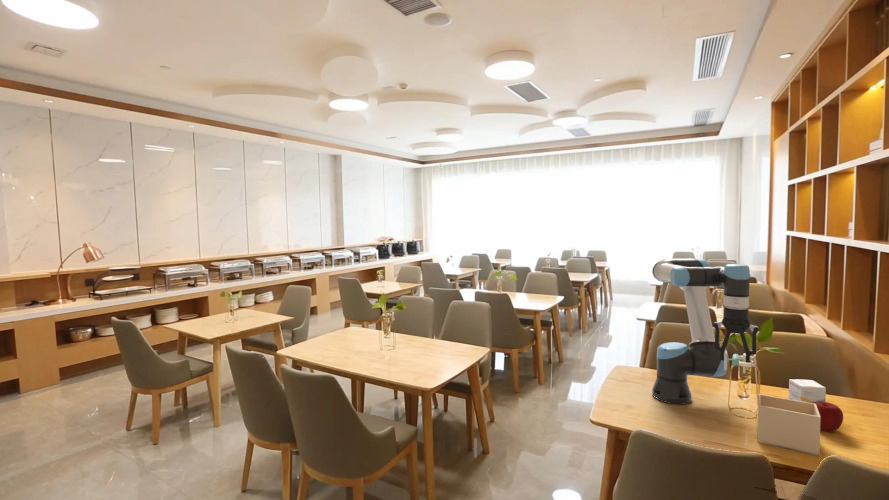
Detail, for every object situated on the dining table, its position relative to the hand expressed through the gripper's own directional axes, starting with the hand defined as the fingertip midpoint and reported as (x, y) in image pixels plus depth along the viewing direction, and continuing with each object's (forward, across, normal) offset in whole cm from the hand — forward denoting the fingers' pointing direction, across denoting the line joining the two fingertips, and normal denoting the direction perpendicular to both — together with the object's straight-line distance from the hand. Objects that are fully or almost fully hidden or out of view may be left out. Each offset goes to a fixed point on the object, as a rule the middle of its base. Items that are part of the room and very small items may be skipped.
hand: (734, 370), depth 154 cm
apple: (+22, +27, +18) cm, 40 cm away
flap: (+1, +7, 0) cm, 7 cm away
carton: (+22, +15, 0) cm, 27 cm away
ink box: (+22, +23, +33) cm, 46 cm away
